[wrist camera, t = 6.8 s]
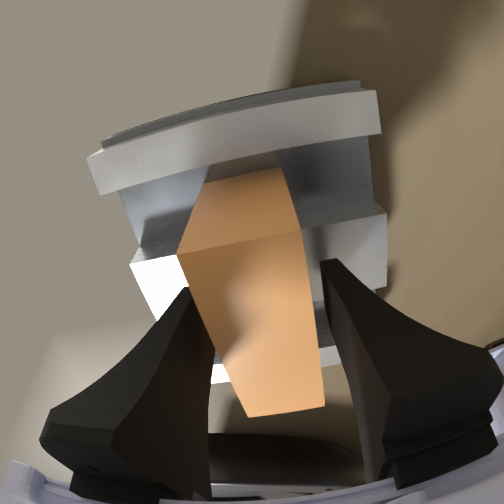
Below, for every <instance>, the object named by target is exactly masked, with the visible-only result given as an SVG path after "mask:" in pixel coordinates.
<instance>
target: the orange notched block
mask: <svg viewBox="0 0 504 504" xmlns="http://www.w3.org/2000/svg"><path fill="white" fill-rule="evenodd" d="M176 257H177V260H178V262H179V265H180V267H181V270H182V272H183V275H184V277H185V280H186V282H187V284H188V287H189V289H190V292H191V294H192V296H193V299H194V301H195V304H196V306H197V308H198V311H199V313H200V315H201V318H202V320H203V322H204V324H205V327H206V329H207V331H208V334H209V336H210V338H211V340H212V342H213V345H214V347H215V349H216V351H217V353H218V356H219V358H220V360H221V362H222V364H223V366H224V369H225V371H226V373H227V375H228V377H229V379H230V381H231V383H232V385H233V388H234V390H235V392H236V394H237V396H238V398H239V400H240V402H241V404H242V406H243V408H244V410H245V412H246V414H247V416H248V417H257V416H266V415H273V414H280V413H287V412H294V411H300V410H306V409H312V408H317V407H322V406H325V400H324V390H323V381H322V373H321V364H320V356H319V348H318V340H317V332H316V325H315V317H314V310H313V303H312V296H311V289H310V282H309V276H308V269H307V263H306V257H305V251H304V244H303V238H302V233H301V228H300V225H299V222H298V218H297V215H296V212H295V209H294V206H293V202H292V199H291V196H290V193H289V190H288V187H287V184H286V181H285V178H284V175H283V172H282V169H281V167H277V168H272V169H267V170H263V171H258V172H253V173H248V174H244V175H239V176H235V177H230V178H226V179H222V180H217V181H213V182H209V183H205V184H203V186H202V188H201V191H200V193H199V196H198V198H197V201H196V203H195V206H194V208H193V211H192V213H191V216H190V218H189V221H188V224H187V226H186V229H185V231H184V234H183V237H182V239H181V242H180V245H179V247H178V250H177V253H176Z"/></svg>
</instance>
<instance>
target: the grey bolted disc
mask: <svg viewBox="0 0 504 504" xmlns="http://www.w3.org/2000/svg"><path fill="white" fill-rule="evenodd" d="M208 448H209V467H210V479H211V489H212V498H213V502H234V501H258V500H271V499H282V498H292V497H300V496H307V495H314V494H320V493H326V492H332V491H337V490H342V489H347V488H352V487H356V486H361V485H365V484H366V477H365V470H364V466H363V464H362V463H361V462H360V461H359V460H358V459H357V458H356V457H355V456H353V455H352V454H351V453H349V452H348V451H346V450H344V449H342V448H340V447H338V446H335V445H332V444H328V443H324V442H320V441H315V440H309V439H302V438H294V437H285V436H272V435H253V434H218V433H208Z"/></svg>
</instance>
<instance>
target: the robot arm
mask: <svg viewBox="0 0 504 504" xmlns="http://www.w3.org/2000/svg"><path fill="white" fill-rule="evenodd" d="M319 263H320V271H321V280H322V288H323V297H324V306H325V310H326V314H327V319H328V323H329V327H330V331H331V334H332V336H333V339H334V342H335V345H336V348H337V351H338V353H339V356H340V359H341V362H342V365H343V368H344V371H345V374H346V377H347V380H348V383H349V387H350V391H351V396H352V401H353V405H354V410H355V415H356V421H357V426H358V431H359V437H360V443H361V449H362V456H363V462H364V470H365V477H366V484H365V485H361V486H356V487H352V488H347V489H342V490H337V491H332V492H326V493H320V494H314V495H307V496H300V497H292V498H282V499H271V500H258V501H234V502H213V498H212V489H211V479H210V467H209V448H208V405H209V394H210V387H211V379H212V372H213V365H214V357H215V347H214V345H213V342H212V340H211V338H210V336H209V334H208V331H207V329H206V327H205V324H204V322H203V320H202V318H201V315H200V313H199V311H198V308H197V306H196V304H195V301H194V299H193V296H192V294H191V292H190V289H189V287H188V286H184V287H183V288H182V289H181V290H180V292H179V293H178V294H177V295H176V297H175V298H174V299H173V301H172V302H171V303H170V305H169V306H168V307H167V309H166V310H165V311H164V312H163V314H162V315H161V316H160V318H159V319H158V320H157V321H156V323H155V324H154V325H153V327H151V329H150V330H149V331H148V332H147V334H146V335H145V336H144V337H143V338H142V339H141V340H140V342H139V343H138V344H137V345H136V346H135V347H134V348H133V349H132V350H131V351H130V352H129V353H128V354H127V355H126V356H125V357H124V358H123V359H122V360H121V361H120V362H119V363H118V364H116V365H115V366H114V367H113V368H112V369H110V370H109V371H108V372H107V373H106V374H105V375H103V376H102V377H101V378H100V379H98V380H97V381H96V382H95V383H93V384H92V385H90V386H89V387H87V388H86V389H84V390H83V391H82V392H80V393H79V394H77V395H75V396H74V397H72V398H70V399H69V400H67V401H65V402H64V403H62V404H60V405H58V406H57V407H54V408H52V409H51V410H50V412H49V415H48V417H47V420H46V423H45V425H44V428H43V430H42V433H41V436H40V438H39V441H40V444H41V446H42V447H43V449H44V450H45V451H46V452H47V453H48V454H50V455H51V456H52V457H54V458H55V459H56V460H58V461H59V462H60V463H62V464H63V465H65V466H66V467H67V468H69V469H70V470H72V471H73V472H74V473H73V477H72V481H71V483H67V482H63V481H60V480H56V479H52V478H49V477H46V476H45V475H44V474H43V473H41V472H40V471H38V470H37V469H35V468H33V467H31V466H29V465H26V464H24V463H21V462H18V461H15V460H11V461H10V463H9V466H8V469H7V472H6V475H5V478H4V481H3V484H2V487H1V491H0V504H504V344H502V345H499V346H497V347H495V348H492V349H490V350H487V349H484V348H481V347H477V346H474V345H471V344H468V343H464V342H461V341H458V340H456V339H453V338H451V337H448V336H446V335H443V334H441V333H439V332H436V331H434V330H432V329H430V328H428V327H426V326H424V325H422V324H420V323H418V322H416V321H415V320H413V319H411V318H409V317H408V316H406V315H404V314H403V313H401V312H400V311H398V310H397V309H395V308H394V307H392V306H391V305H389V304H388V303H387V302H385V301H384V300H383V299H381V298H380V297H379V296H378V295H376V294H375V293H374V292H373V291H371V290H370V289H369V288H368V287H367V286H366V285H365V284H363V283H362V282H361V281H360V280H359V279H358V278H357V277H356V276H355V275H354V274H353V273H352V272H351V271H350V270H349V269H348V268H347V267H346V266H345V265H344V264H343V263H342V262H341V261H340V260H339V259H337V258H333V259H328V260H323V261H319Z"/></svg>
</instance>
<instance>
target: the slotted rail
mask: <svg viewBox="0 0 504 504" xmlns="http://www.w3.org/2000/svg"><path fill="white" fill-rule="evenodd" d="M374 134H381V125H380V117H379V109H378V102H377V95H376V90H371V89H365V88H361V84H360V80H343V81H334V82H326V83H318V84H311V85H304V86H298V87H292V88H286V89H280V90H274V91H269V92H264V93H259V94H254V95H249V96H245V97H240V98H236V99H231V100H227V101H223V102H219V103H215V104H211V105H207V106H203V107H200V108H196V109H192V110H188V111H185V112H182V113H178V114H175V115H171V116H168V117H165V118H161V119H158V120H155V121H152V122H149V123H146V124H143V125H140V126H137V127H134V128H131V129H129V130H126V131H123V132H120V133H117V134H115V135H112V136H110V137H108V138H106V139H104V140H102V141H101V144H102V146H103V148H102V149H101V150H99V151H98V152H96V153H94V154H92V155H91V156H89V157H88V158H86V159H87V162H88V165H89V167H90V170H91V173H92V176H93V178H94V181H95V184H96V186H97V189H98V191H99V194H100V196H101V195H104V194H107V193H110V192H113V191H117V190H118V192H119V194H120V197H121V200H122V202H123V205H124V207H125V210H126V213H127V215H128V218H129V220H130V223H131V225H132V227H133V230H134V233H135V235H136V237H137V240H138V242H139V244H140V246H139V248H138V250H137V252H136V254H135V255H134V257H133V259H132V261H131V263H130V267H131V269H132V271H133V273H134V275H135V277H136V279H137V281H138V283H139V285H140V287H141V289H142V291H143V293H144V296H145V298H146V299H147V301H148V303H149V305H150V307H151V309H152V311H153V313H154V315H155V317H156V319H157V320H158V319H159V318H160V316H161V315H162V314H163V312H164V311H165V310H166V309H167V307H168V306H169V305H170V303H171V302H172V301H173V299H174V298H175V297H176V295H177V294H178V293H179V292H180V290H181V289H182V288H183V287H184V286H188V284H187V282H186V280H185V277H184V275H183V272H182V270H181V267H180V265H179V262H178V260H177V257H176V253H177V250H178V247H179V245H180V242H181V239H182V237H183V234H184V231H185V229H186V226H187V224H188V221H189V218H190V216H191V213H192V211H193V208H194V206H195V203H196V201H197V198H198V196H199V193H200V191H201V188H202V186H203V184H205V183H209V182H213V181H217V180H222V179H226V178H230V177H235V176H239V175H244V174H248V173H253V172H258V171H263V170H267V169H272V168H277V167H281V169H282V172H283V175H284V178H285V181H286V184H287V187H288V190H289V193H290V196H291V199H292V202H293V206H294V209H295V212H296V215H297V218H298V222H299V225H300V228H301V233H302V238H303V244H304V251H305V257H306V263H307V269H308V276H309V282H310V289H311V296H312V303H313V310H314V317H315V325H316V332H317V340H318V348H319V356H320V364H321V367H326V366H331V365H335V364H340V363H342V362H341V359H340V356H339V353H338V351H337V348H336V345H335V342H334V339H333V336H332V334H331V331H330V327H329V323H328V319H327V314H326V310H325V306H324V297H323V288H322V280H321V271H320V263H319V261H323V260H328V259H333V258H337V259H339V260H340V261H341V262H342V263H343V264H344V265H345V266H346V267H347V268H348V269H349V270H350V271H351V272H352V273H353V274H354V275H355V276H356V277H357V278H358V279H359V280H360V281H361V282H362V283H363V284H365V285H366V286H367V287H368V288H369V289H370V290H371V291H373V292H374V293H375V294H376V289H377V288H381V287H385V286H387V213H386V212H385V211H384V210H383V209H382V207H381V206H380V205H379V204H378V203H377V202H376V201H375V200H374V198H373V184H372V171H371V160H370V150H369V141H368V135H374ZM220 382H230V379H229V377H228V375H227V373H226V371H225V369H224V366H223V364H222V362H221V360H220V358H219V356H218V353H217V351H216V349H215V357H214V365H213V372H212V379H211V383H220Z"/></svg>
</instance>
